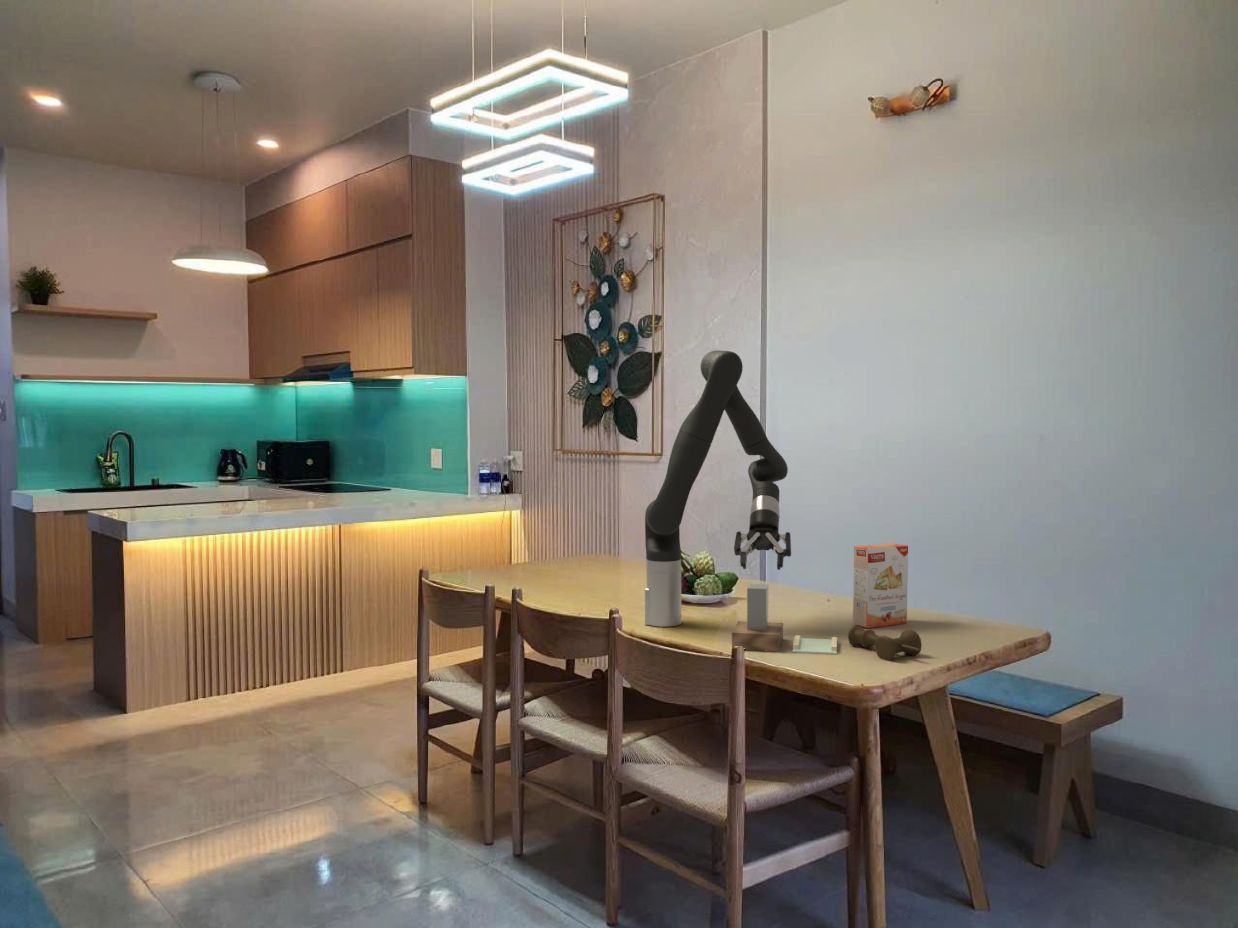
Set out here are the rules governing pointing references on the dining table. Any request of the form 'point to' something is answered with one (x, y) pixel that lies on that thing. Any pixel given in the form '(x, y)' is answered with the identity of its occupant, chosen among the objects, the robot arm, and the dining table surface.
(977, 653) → the dining table surface
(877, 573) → the cracker box
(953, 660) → the dining table surface
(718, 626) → the dining table surface
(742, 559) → the robot arm
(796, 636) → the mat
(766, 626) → the gray rectangular block
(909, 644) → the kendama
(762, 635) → the riser
